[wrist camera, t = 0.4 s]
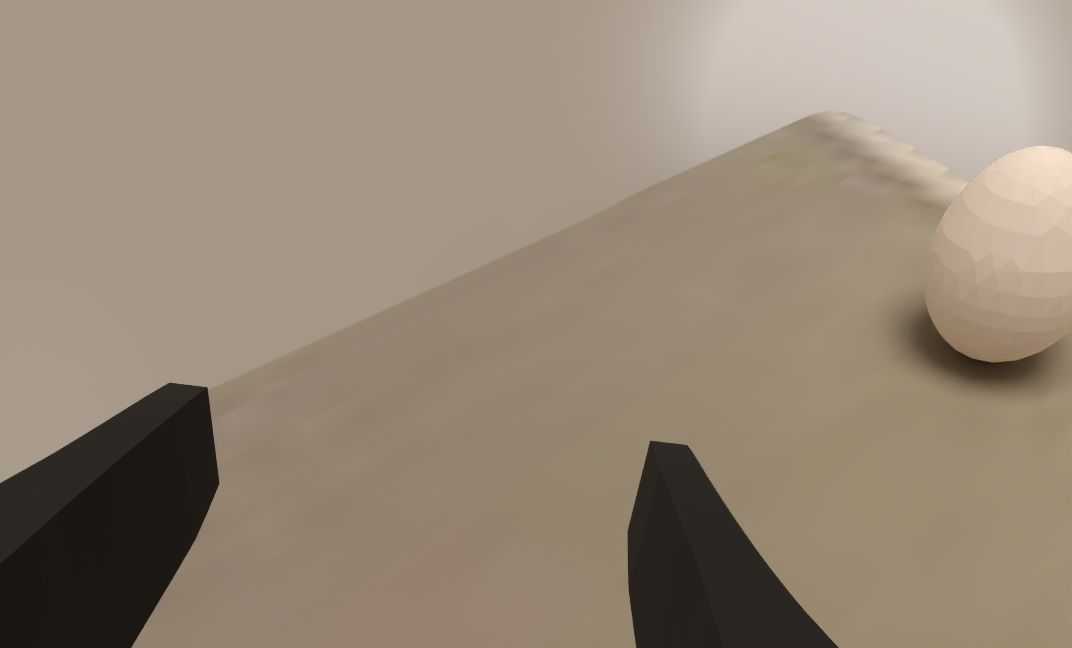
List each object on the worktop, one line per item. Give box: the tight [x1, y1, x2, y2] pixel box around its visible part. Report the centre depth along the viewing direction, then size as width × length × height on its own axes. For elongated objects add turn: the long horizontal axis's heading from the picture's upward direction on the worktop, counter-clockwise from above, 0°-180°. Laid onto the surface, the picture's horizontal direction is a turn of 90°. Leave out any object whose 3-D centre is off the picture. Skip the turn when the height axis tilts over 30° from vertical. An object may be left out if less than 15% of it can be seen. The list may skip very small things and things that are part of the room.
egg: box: [923, 146, 1072, 363], centre depth 37 cm, size 7×7×12 cm
